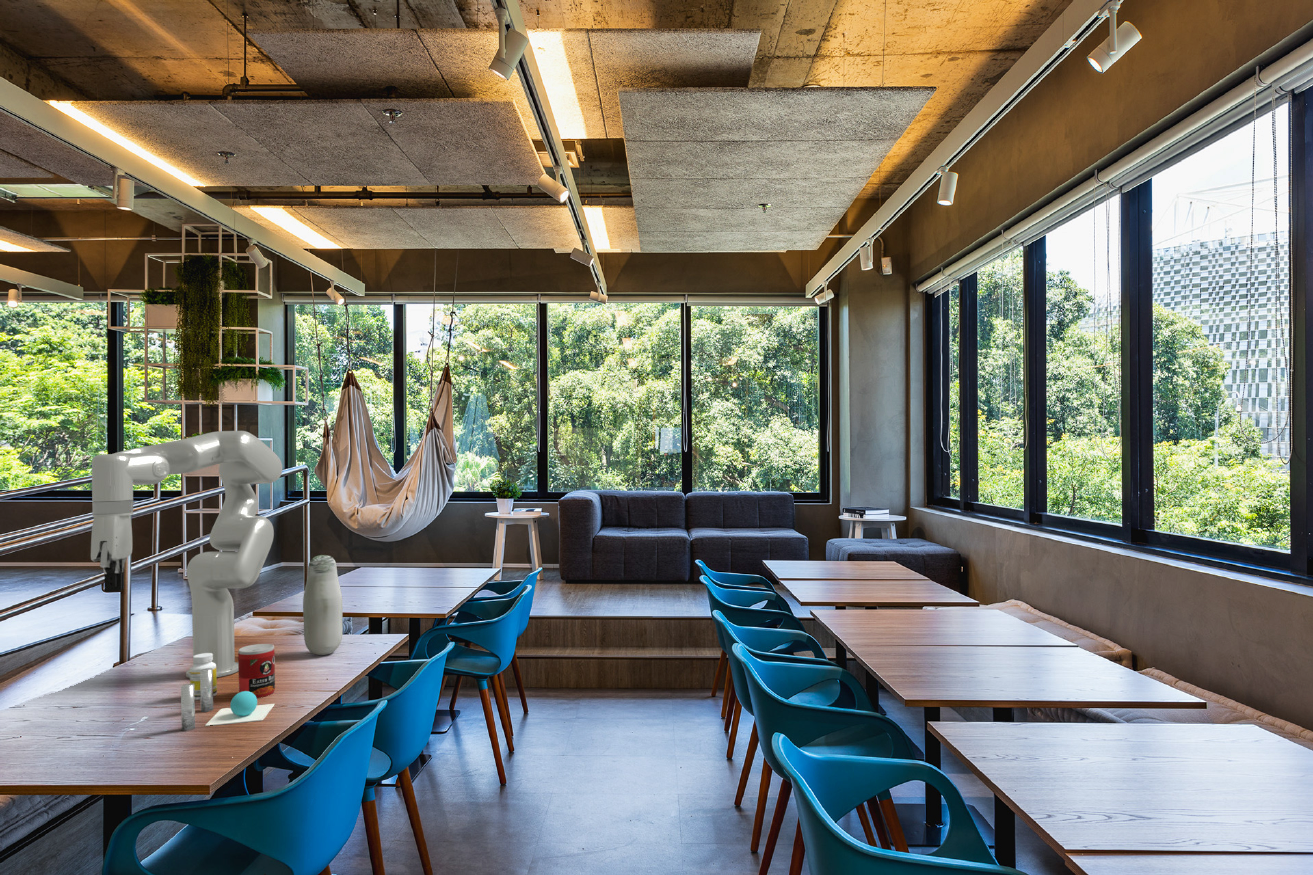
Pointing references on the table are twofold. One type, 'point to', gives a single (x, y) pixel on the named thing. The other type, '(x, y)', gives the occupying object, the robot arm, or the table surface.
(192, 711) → the post
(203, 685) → the post
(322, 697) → the table surface
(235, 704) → the ball
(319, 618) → the grey bottle
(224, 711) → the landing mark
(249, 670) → the canned food
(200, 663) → the supplement bottle
